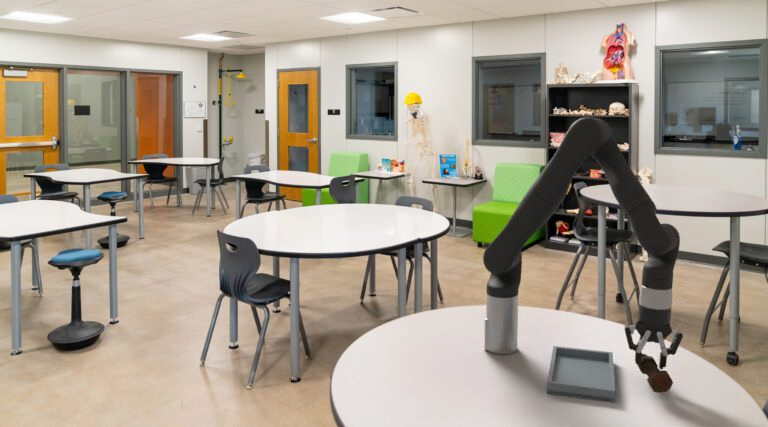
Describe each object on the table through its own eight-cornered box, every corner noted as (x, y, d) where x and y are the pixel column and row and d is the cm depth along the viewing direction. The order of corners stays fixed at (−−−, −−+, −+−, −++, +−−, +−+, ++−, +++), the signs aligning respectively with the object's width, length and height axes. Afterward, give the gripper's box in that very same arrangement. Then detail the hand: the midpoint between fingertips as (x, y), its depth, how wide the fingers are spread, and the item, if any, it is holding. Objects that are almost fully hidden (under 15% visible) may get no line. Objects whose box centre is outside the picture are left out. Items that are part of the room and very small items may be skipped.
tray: (546, 393, 151) (547, 382, 150) (553, 355, 173) (553, 345, 173) (614, 402, 146) (615, 391, 145) (612, 362, 168) (612, 352, 167)
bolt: (643, 371, 160) (663, 397, 146) (627, 362, 160) (645, 387, 146) (656, 354, 159) (677, 378, 144) (639, 344, 159) (659, 367, 145)
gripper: (625, 304, 149) (620, 368, 152) (689, 311, 144) (682, 377, 147) (624, 295, 156) (619, 357, 159) (684, 301, 151) (679, 364, 154)
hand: (650, 366), depth 153 cm, fingers closed on bolt, 4 cm apart
